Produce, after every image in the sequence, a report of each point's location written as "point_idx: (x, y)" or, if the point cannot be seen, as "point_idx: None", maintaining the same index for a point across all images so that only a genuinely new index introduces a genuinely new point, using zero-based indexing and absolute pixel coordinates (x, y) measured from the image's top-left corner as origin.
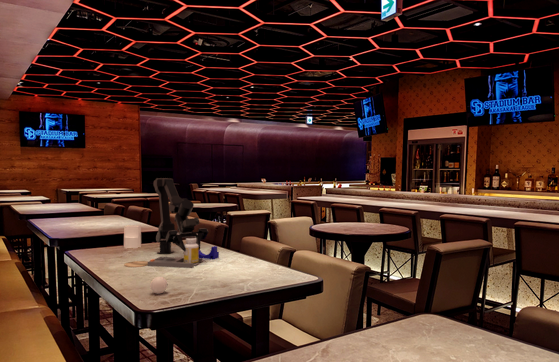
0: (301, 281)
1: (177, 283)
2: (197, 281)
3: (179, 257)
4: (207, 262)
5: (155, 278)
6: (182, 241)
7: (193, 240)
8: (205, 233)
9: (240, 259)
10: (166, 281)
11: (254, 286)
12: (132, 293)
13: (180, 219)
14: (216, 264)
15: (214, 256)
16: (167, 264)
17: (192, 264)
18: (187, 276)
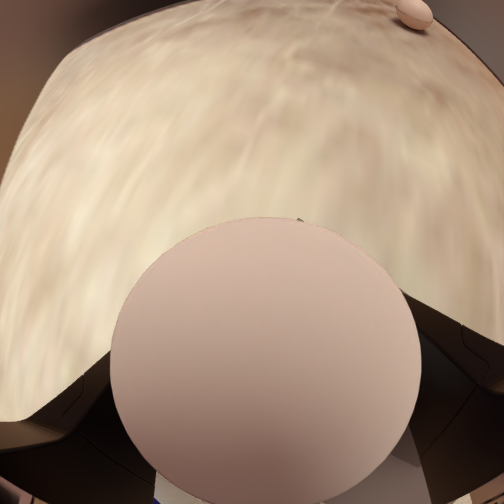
0: (99, 37)
1: (380, 48)
2: (316, 39)
3: (326, 501)
4: None
5: (423, 2)
6: (462, 358)
7: (235, 231)
8: None
9: (8, 324)
10: (399, 1)
11: (193, 9)
12: (463, 52)
13: None
14: (119, 269)
15: None
16: None
17: (298, 219)
18: (348, 86)
